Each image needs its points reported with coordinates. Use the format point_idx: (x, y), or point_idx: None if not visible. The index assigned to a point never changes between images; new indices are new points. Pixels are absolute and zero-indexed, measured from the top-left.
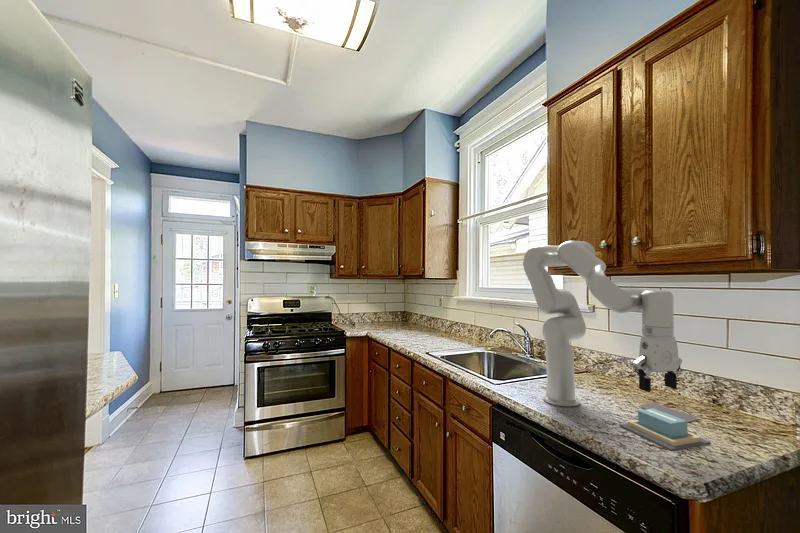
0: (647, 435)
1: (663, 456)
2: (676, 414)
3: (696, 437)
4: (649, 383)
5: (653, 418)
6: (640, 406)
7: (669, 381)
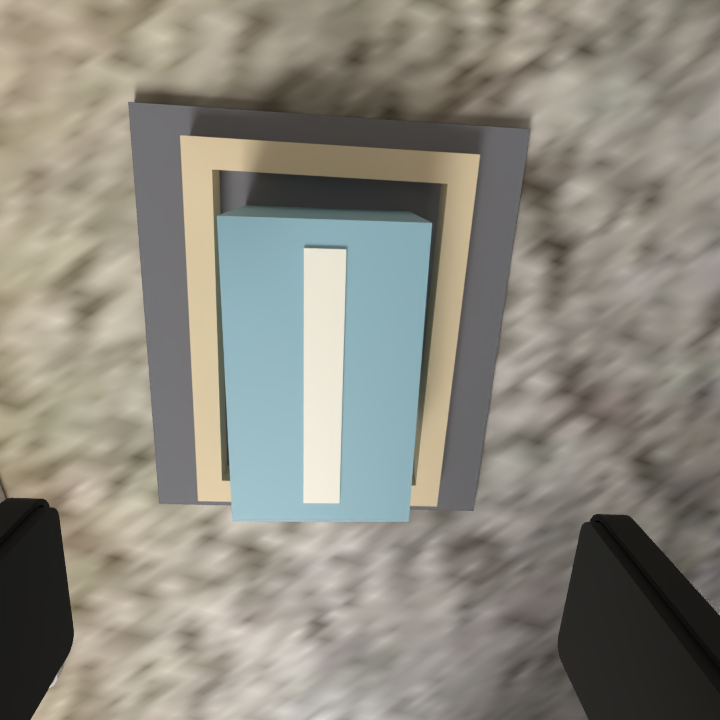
0: (467, 340)
1: (655, 93)
2: None
3: (225, 143)
4: (714, 619)
5: (416, 384)
6: (58, 675)
7: (5, 661)
